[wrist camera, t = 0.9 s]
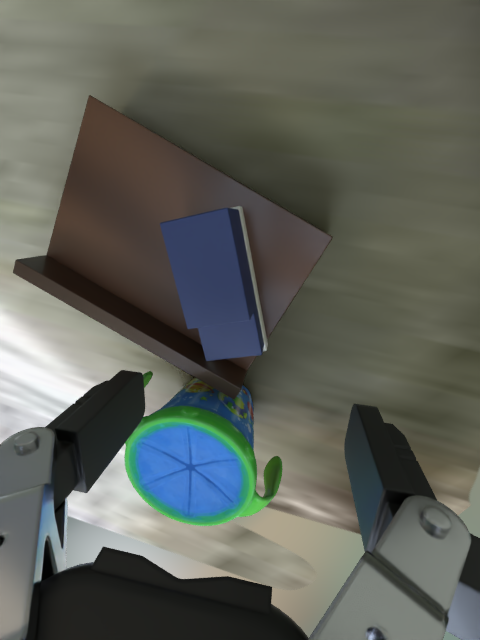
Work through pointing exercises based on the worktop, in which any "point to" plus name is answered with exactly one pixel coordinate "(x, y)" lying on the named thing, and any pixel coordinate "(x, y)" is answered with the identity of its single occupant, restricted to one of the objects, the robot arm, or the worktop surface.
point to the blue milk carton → (217, 282)
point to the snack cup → (200, 457)
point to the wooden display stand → (158, 241)
